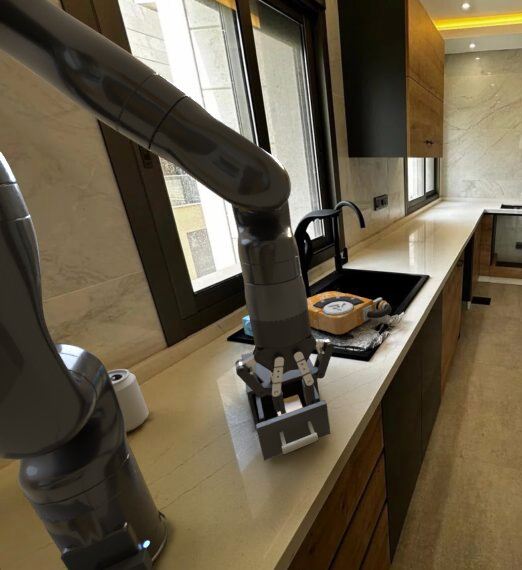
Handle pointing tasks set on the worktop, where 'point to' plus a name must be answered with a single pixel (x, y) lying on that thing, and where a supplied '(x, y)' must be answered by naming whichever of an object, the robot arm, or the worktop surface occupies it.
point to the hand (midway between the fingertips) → (295, 405)
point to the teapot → (247, 325)
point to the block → (291, 404)
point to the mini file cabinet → (290, 422)
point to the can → (129, 398)
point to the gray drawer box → (265, 376)
